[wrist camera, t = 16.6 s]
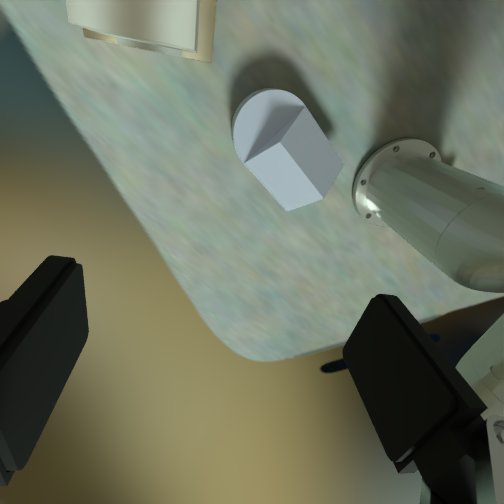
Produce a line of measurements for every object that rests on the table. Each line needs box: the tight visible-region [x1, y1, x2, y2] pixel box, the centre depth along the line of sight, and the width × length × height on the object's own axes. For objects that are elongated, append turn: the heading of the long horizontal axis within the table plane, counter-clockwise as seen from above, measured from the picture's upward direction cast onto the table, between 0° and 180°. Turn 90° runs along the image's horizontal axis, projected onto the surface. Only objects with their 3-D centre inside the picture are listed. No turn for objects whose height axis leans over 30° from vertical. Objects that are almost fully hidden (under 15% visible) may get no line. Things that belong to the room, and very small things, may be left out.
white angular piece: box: [231, 88, 344, 211], centre depth 33 cm, size 9×7×13 cm
